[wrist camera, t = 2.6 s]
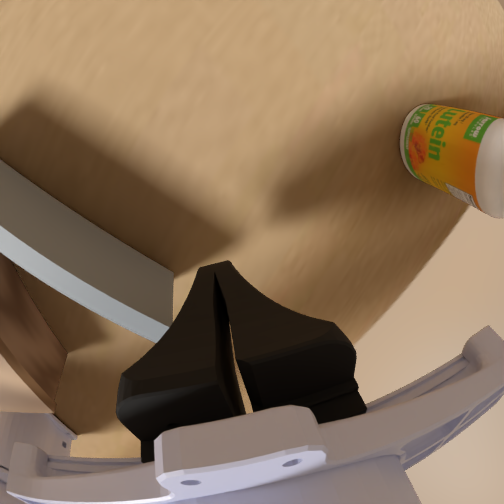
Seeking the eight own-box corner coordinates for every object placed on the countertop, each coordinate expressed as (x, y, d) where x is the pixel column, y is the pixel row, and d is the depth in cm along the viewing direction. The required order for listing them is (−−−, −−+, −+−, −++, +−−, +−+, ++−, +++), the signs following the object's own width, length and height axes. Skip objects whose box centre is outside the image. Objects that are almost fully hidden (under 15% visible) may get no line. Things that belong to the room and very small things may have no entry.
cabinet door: (-28, 160, 10) (-77, 184, 6) (-22, 142, 10) (-73, 161, 6) (163, 287, 16) (159, 344, 12) (173, 272, 16) (172, 328, 12)
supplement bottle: (414, 87, 14) (548, 109, 6) (458, 129, 16) (568, 169, 7) (385, 158, 16) (516, 220, 7) (432, 191, 18) (538, 254, 9)
